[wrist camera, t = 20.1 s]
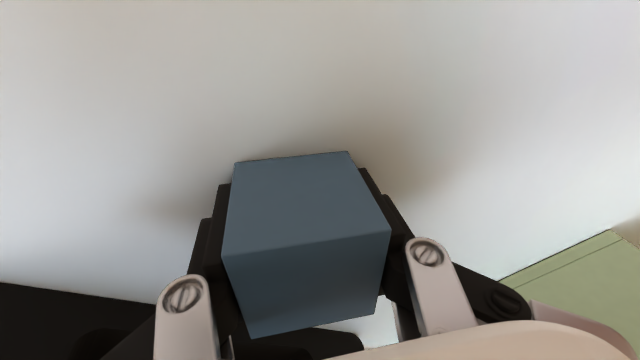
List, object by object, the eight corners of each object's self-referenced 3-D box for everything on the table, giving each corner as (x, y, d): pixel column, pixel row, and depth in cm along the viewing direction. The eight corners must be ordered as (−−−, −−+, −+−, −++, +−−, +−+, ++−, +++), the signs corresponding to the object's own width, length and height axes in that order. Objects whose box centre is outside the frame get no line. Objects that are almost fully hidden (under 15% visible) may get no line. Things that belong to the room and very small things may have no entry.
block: (234, 162, 10) (220, 256, 6) (347, 150, 11) (392, 229, 7) (253, 241, 13) (250, 340, 9) (343, 227, 13) (374, 314, 10)
